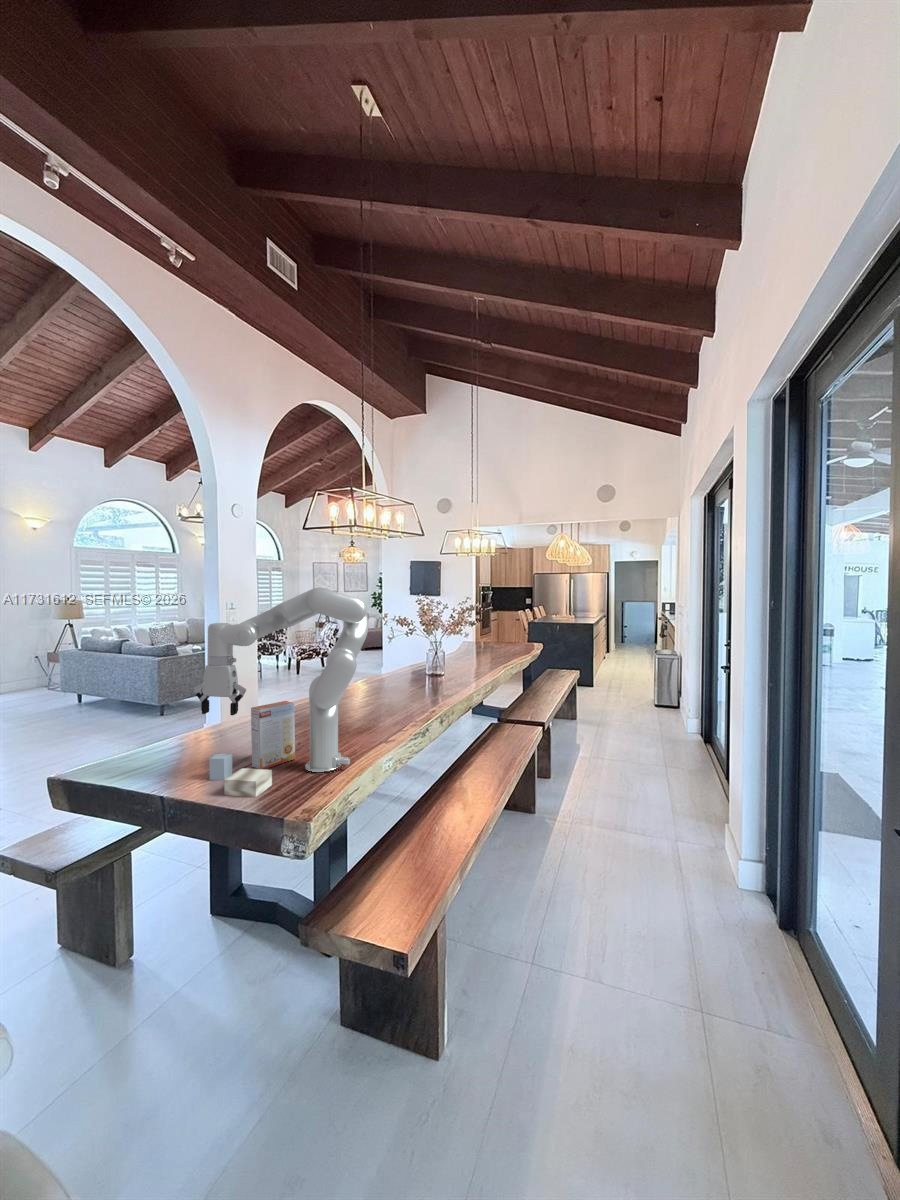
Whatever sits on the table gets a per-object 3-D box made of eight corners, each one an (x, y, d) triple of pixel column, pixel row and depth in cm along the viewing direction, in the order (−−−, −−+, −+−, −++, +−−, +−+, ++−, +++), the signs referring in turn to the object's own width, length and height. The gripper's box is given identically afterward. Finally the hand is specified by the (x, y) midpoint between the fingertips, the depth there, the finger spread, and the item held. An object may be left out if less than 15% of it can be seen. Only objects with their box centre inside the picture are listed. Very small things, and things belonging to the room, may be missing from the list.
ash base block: (271, 785, 168) (271, 769, 168) (255, 798, 158) (255, 781, 158) (242, 783, 170) (242, 768, 170) (224, 796, 160) (224, 779, 160)
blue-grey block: (232, 775, 177) (232, 754, 176) (224, 780, 172) (224, 758, 171) (218, 774, 177) (217, 753, 177) (209, 779, 172) (209, 758, 172)
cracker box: (285, 757, 195) (285, 700, 195) (295, 760, 192) (295, 702, 191) (250, 766, 185) (250, 706, 184) (260, 770, 181) (259, 709, 180)
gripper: (251, 660, 176) (250, 712, 177) (201, 658, 178) (201, 710, 178) (239, 663, 169) (239, 717, 169) (188, 661, 171) (187, 715, 171)
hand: (219, 713), depth 174 cm, fingers open, 9 cm apart
